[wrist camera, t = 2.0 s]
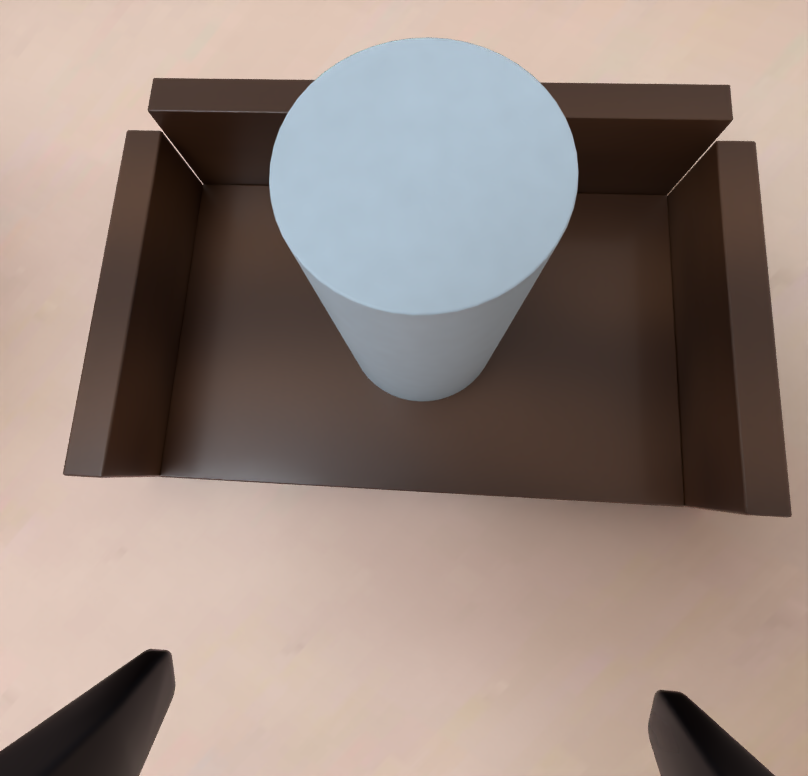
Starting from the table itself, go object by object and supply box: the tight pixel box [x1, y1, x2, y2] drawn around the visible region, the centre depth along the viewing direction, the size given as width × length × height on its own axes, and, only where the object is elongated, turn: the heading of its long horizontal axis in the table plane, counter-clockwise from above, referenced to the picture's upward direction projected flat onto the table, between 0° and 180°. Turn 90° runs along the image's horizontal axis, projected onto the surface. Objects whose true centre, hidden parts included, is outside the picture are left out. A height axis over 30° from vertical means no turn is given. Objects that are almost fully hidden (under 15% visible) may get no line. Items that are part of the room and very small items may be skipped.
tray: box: [63, 78, 792, 517], centre depth 19 cm, size 16×25×6 cm, turn 87°
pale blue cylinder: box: [269, 38, 578, 401], centre depth 15 cm, size 8×6×11 cm
